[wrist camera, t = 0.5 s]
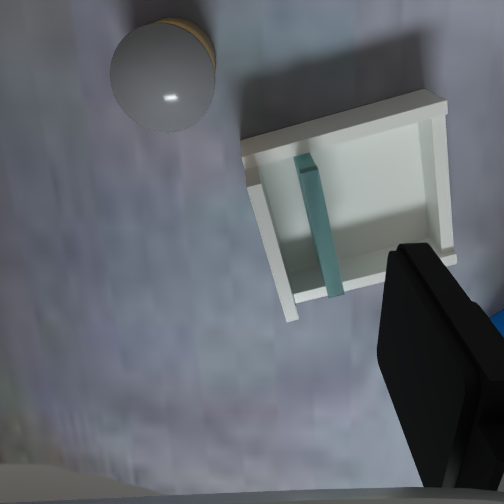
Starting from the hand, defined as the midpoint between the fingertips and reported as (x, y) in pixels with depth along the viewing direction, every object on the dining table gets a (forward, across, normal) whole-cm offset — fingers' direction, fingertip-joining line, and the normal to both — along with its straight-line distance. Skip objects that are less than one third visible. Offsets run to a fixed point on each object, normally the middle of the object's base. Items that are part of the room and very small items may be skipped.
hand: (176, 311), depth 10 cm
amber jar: (+29, +3, -2) cm, 30 cm away
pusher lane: (+30, -10, +10) cm, 33 cm away
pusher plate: (+28, -7, +10) cm, 31 cm away
